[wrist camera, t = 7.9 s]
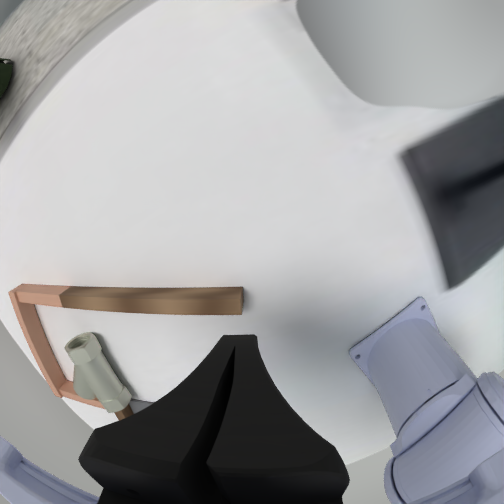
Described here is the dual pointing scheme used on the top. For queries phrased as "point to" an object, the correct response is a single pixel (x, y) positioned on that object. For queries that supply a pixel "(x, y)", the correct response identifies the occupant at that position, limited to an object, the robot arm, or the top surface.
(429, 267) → the top surface
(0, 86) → the character mug
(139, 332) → the top surface
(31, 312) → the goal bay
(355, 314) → the top surface
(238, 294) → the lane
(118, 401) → the pipe fitting
